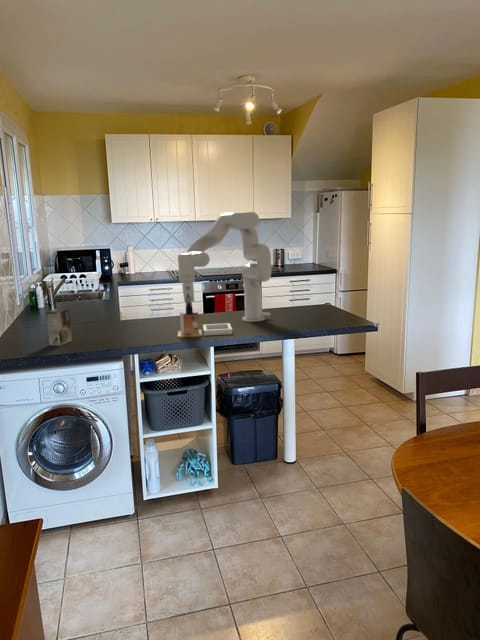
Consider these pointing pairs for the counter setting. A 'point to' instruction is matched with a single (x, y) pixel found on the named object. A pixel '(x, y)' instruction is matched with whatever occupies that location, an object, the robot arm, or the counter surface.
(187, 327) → the small box
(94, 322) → the counter surface
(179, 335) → the cork pad
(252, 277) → the robot arm
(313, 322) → the counter surface
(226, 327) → the square frame
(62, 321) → the coffee box
